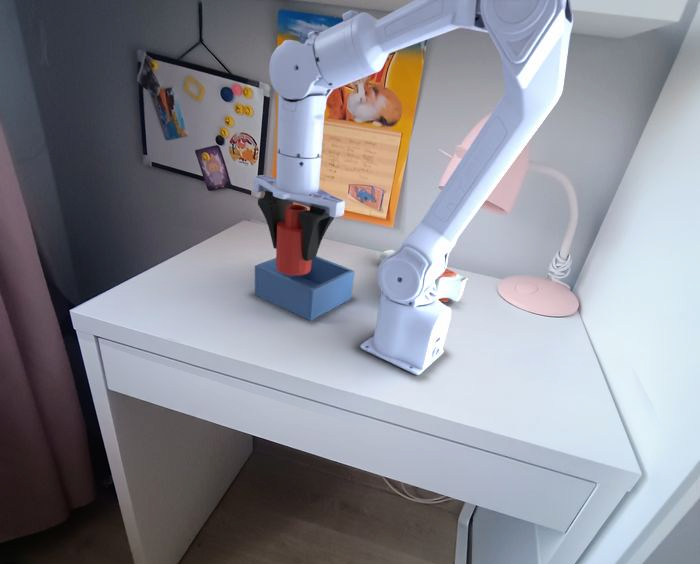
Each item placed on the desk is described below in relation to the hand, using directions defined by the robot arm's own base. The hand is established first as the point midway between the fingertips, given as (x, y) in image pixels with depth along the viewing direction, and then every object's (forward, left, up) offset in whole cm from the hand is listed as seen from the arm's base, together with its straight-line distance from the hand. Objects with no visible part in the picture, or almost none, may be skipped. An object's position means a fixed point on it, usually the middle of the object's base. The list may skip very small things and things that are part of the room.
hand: (294, 252), depth 68 cm
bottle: (0, 0, -2) cm, 2 cm away
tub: (+1, -5, -9) cm, 11 cm away
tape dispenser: (-10, -22, -10) cm, 26 cm away
